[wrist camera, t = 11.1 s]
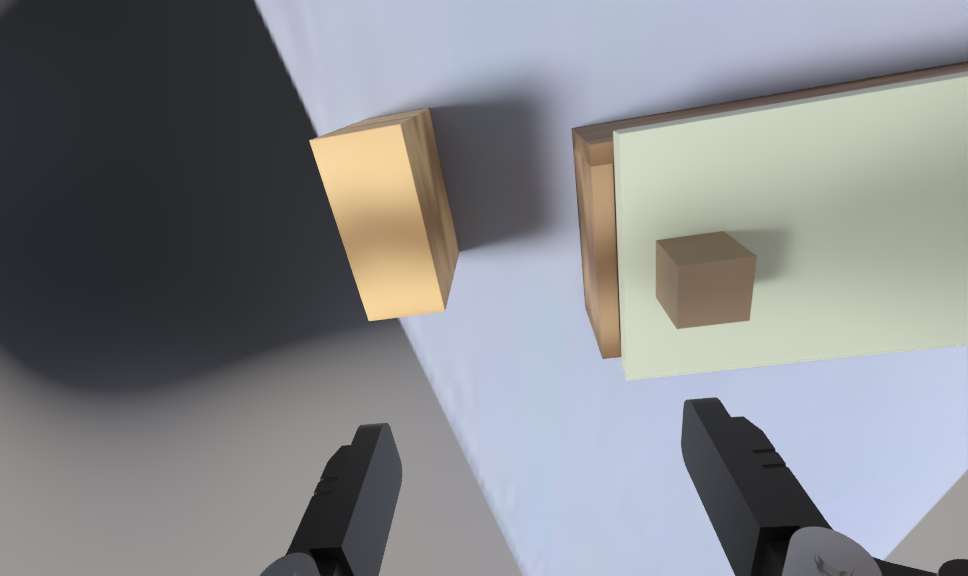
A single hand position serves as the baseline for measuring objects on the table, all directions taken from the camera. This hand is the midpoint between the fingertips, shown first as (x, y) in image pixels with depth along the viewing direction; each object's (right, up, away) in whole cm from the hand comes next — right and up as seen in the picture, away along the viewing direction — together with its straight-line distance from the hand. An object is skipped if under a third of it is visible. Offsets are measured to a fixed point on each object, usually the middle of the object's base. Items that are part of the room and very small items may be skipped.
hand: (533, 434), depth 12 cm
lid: (+14, +6, +9) cm, 18 cm away
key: (-6, +10, +16) cm, 19 cm away
